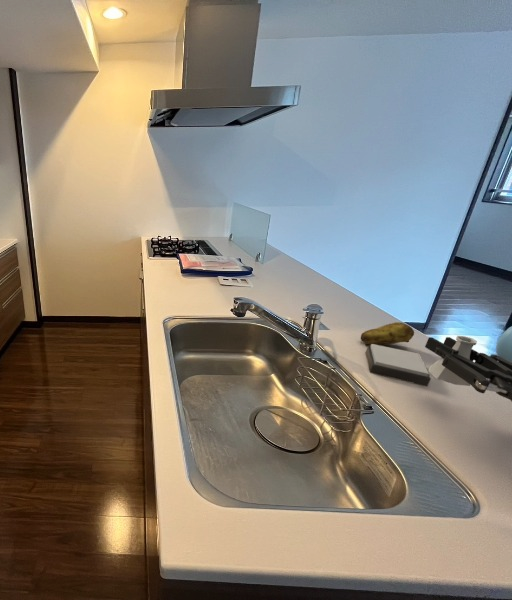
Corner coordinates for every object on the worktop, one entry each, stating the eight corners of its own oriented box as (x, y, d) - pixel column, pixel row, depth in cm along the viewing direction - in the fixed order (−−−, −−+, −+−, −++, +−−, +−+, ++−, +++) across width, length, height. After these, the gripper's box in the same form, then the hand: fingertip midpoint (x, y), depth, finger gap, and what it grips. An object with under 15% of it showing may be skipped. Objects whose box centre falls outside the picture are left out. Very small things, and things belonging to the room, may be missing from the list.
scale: (419, 364, 92) (423, 353, 91) (430, 387, 83) (435, 376, 81) (365, 352, 98) (368, 342, 97) (369, 372, 89) (373, 361, 87)
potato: (355, 334, 108) (362, 313, 105) (404, 343, 102) (413, 321, 99) (359, 346, 101) (367, 323, 98) (412, 356, 96) (421, 333, 93)
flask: (464, 372, 75) (483, 335, 71) (476, 390, 69) (497, 351, 65) (423, 364, 78) (439, 328, 74) (432, 380, 72) (449, 342, 69)
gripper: (502, 428, 56) (396, 355, 78) (598, 428, 56) (465, 355, 77) (522, 394, 53) (407, 328, 75) (624, 394, 53) (479, 328, 75)
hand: (437, 342), depth 76 cm, fingers closed on flask, 3 cm apart
